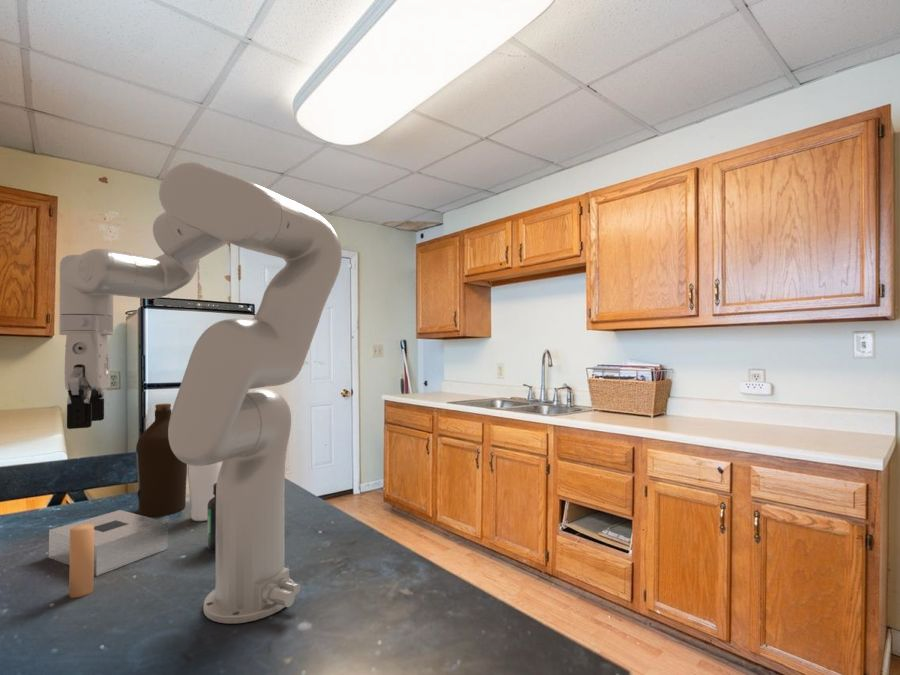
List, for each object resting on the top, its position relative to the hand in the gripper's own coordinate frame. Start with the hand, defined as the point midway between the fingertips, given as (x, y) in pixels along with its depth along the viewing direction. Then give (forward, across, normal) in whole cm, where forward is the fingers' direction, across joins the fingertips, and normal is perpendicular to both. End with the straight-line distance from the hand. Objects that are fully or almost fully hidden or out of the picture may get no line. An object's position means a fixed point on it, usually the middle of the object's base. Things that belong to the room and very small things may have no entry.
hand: (86, 424), depth 82 cm
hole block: (+25, +6, -2) cm, 26 cm away
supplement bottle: (+25, -1, -22) cm, 34 cm away
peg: (+25, -10, -1) cm, 27 cm away
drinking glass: (+25, +18, -18) cm, 36 cm away
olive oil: (+25, +29, -9) cm, 39 cm away
